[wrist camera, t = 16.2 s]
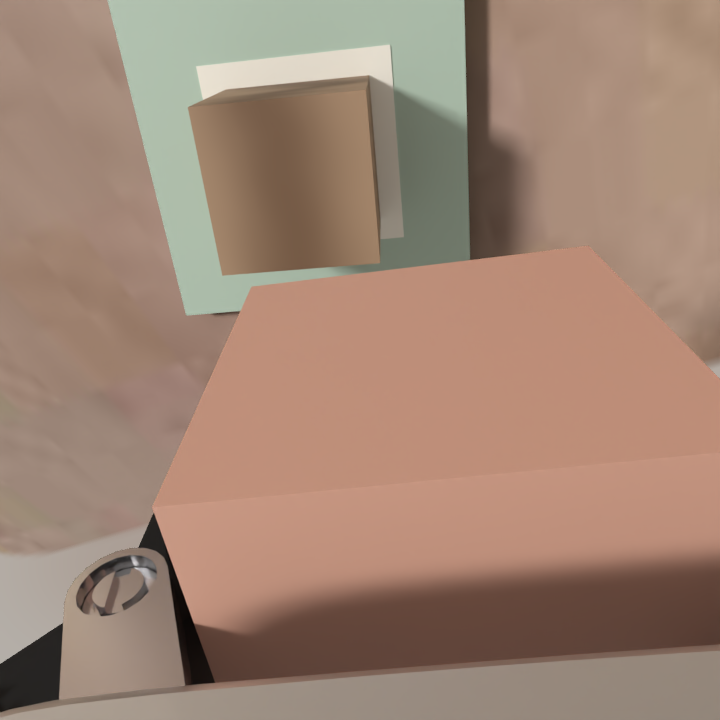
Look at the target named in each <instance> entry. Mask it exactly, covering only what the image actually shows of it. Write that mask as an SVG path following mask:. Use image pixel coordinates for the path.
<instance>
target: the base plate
mask: <svg viewBox="0 0 720 720" xmlns="http://www.w3.org/2000/svg"><path fill="white" fill-rule="evenodd" d="M108 4H109V8H110V12H111V16H112V20H113V24H114V28H115V32H116V36H117V40H118V44H119V48H120V52H121V56H122V60H123V64H124V68H125V72H126V76H127V80H128V84H129V88H130V92H131V96H132V100H133V104H134V108H135V112H136V116H137V120H138V124H139V128H140V132H141V136H142V140H143V144H144V148H145V152H146V156H147V160H148V164H149V168H150V172H151V176H152V180H153V184H154V188H155V192H156V196H157V200H158V204H159V208H160V212H161V216H162V220H163V224H164V228H165V232H166V236H167V240H168V244H169V248H170V252H171V256H172V260H173V264H174V268H175V272H176V276H177V280H178V284H179V288H180V292H181V296H182V300H183V304H184V308H185V312H186V315H198V314H210V313H222V312H234V311H241V309H242V306H243V304H244V302H245V300H246V298H247V295H248V293H249V291H250V289H251V287H253V286H261V285H269V284H277V283H285V282H294V281H302V280H310V279H318V278H327V277H335V276H343V275H351V274H360V273H368V272H376V271H384V270H393V269H401V268H409V267H417V266H425V265H434V264H442V263H450V262H458V261H467V260H470V231H469V187H468V143H467V100H466V56H465V12H464V0H108ZM366 75H369V80H370V92H371V105H372V117H373V130H374V142H375V155H376V168H377V180H378V193H379V205H380V218H381V229H380V263H377V264H364V265H351V266H339V267H326V268H313V269H301V270H288V271H275V272H263V273H250V274H237V275H225V276H222V272H221V267H220V262H219V257H218V253H217V248H216V243H215V238H214V233H213V228H212V223H211V218H210V214H209V209H208V204H207V199H206V194H205V189H204V184H203V179H202V175H201V170H200V165H199V160H198V155H197V150H196V145H195V140H194V136H193V131H192V126H191V121H190V116H189V111H188V107H189V106H191V105H194V104H196V103H198V102H200V101H202V100H204V99H206V98H209V97H211V96H213V95H215V94H217V93H219V92H221V91H224V90H226V89H235V88H245V87H255V86H265V85H275V84H285V83H295V82H305V81H315V80H325V79H335V78H345V77H355V76H366Z"/></svg>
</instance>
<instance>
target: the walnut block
mask: <svg viewBox="0 0 720 720" xmlns="http://www.w3.org/2000/svg"><path fill="white" fill-rule="evenodd" d="M188 111H189V116H190V121H191V126H192V131H193V136H194V140H195V145H196V150H197V155H198V160H199V165H200V170H201V175H202V179H203V184H204V189H205V194H206V199H207V204H208V209H209V214H210V218H211V223H212V228H213V233H214V238H215V243H216V248H217V253H218V257H219V262H220V267H221V272H222V276H225V275H237V274H250V273H263V272H275V271H288V270H301V269H313V268H326V267H339V266H351V265H364V264H377V263H380V229H381V218H380V205H379V193H378V180H377V168H376V155H375V142H374V130H373V117H372V105H371V92H370V80H369V75H366V76H355V77H345V78H335V79H325V80H315V81H305V82H295V83H285V84H275V85H265V86H255V87H245V88H235V89H226V90H224V91H221V92H219V93H217V94H215V95H213V96H211V97H209V98H206V99H204V100H202V101H200V102H198V103H196V104H194V105H191V106H189V107H188Z"/></svg>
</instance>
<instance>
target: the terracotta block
mask: <svg viewBox="0 0 720 720" xmlns="http://www.w3.org/2000/svg"><path fill="white" fill-rule="evenodd" d="M152 509H153V511H154V514H155V517H156V520H157V523H158V525H159V528H160V531H161V534H162V536H163V539H164V542H165V545H166V547H167V550H168V553H169V556H170V559H171V561H172V564H173V567H174V570H175V572H176V575H177V578H178V581H179V583H180V586H181V589H182V592H183V595H184V597H185V600H186V603H187V606H188V608H189V611H190V614H191V617H192V619H193V622H194V625H195V628H196V631H197V633H198V636H199V639H200V642H201V644H202V647H203V650H204V653H205V655H206V658H207V661H208V664H209V667H210V669H211V672H212V675H213V678H214V680H215V683H219V682H232V681H244V680H256V679H268V678H281V677H293V676H305V675H317V674H329V673H342V672H354V671H366V670H378V669H391V668H404V667H417V666H430V665H443V664H456V663H469V662H482V661H496V660H509V659H522V658H535V657H549V656H562V655H575V654H589V653H603V652H617V651H631V650H646V649H660V648H674V647H688V646H702V645H717V644H720V379H719V378H718V377H717V376H716V375H715V373H713V371H711V369H710V368H709V367H708V366H707V365H706V364H705V363H704V362H703V361H702V360H701V359H700V358H699V357H698V356H697V355H696V354H695V353H694V352H693V351H692V350H691V349H690V348H689V347H688V346H687V345H686V344H685V343H684V342H683V341H682V340H681V339H680V338H679V337H678V336H677V335H676V334H675V333H674V332H673V331H672V330H671V329H670V328H669V327H668V326H667V325H666V324H665V323H664V322H663V321H662V320H661V319H660V318H659V317H658V316H657V315H656V314H655V313H654V312H653V311H652V310H651V309H650V308H649V307H648V306H647V305H646V304H645V303H644V302H643V301H642V300H641V299H640V298H639V297H638V296H637V294H636V293H635V292H634V291H633V290H632V289H631V288H630V287H629V286H628V285H627V284H626V283H625V282H624V281H623V280H622V279H621V278H620V277H619V276H618V275H617V274H616V273H615V272H614V271H613V270H612V269H611V268H610V267H609V266H608V265H607V264H606V263H605V262H604V261H603V260H602V259H601V258H600V257H599V256H598V255H597V254H596V253H595V252H594V251H593V250H592V249H591V248H590V247H589V246H582V247H574V248H565V249H557V250H549V251H541V252H532V253H524V254H516V255H508V256H500V257H491V258H483V259H475V260H467V261H458V262H450V263H442V264H434V265H425V266H417V267H409V268H401V269H393V270H384V271H376V272H368V273H360V274H351V275H343V276H335V277H327V278H318V279H310V280H302V281H294V282H285V283H277V284H269V285H261V286H253V287H251V289H250V291H249V293H248V295H247V298H246V300H245V302H244V304H243V306H242V309H241V311H240V313H239V315H238V318H237V320H236V322H235V324H234V326H233V329H232V331H231V333H230V335H229V338H228V340H227V342H226V344H225V346H224V349H223V351H222V353H221V355H220V358H219V360H218V362H217V364H216V366H215V369H214V371H213V373H212V375H211V377H210V380H209V382H208V384H207V386H206V389H205V391H204V393H203V395H202V397H201V400H200V402H199V404H198V406H197V409H196V411H195V413H194V415H193V417H192V420H191V422H190V424H189V426H188V429H187V431H186V433H185V435H184V437H183V440H182V442H181V444H180V446H179V449H178V451H177V453H176V455H175V457H174V460H173V462H172V464H171V466H170V469H169V471H168V473H167V475H166V477H165V480H164V482H163V484H162V486H161V489H160V491H159V493H158V495H157V497H156V500H155V502H154V504H153V506H152Z"/></svg>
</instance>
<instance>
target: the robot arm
mask: <svg viewBox="0 0 720 720" xmlns="http://www.w3.org/2000/svg"><path fill="white" fill-rule="evenodd" d="M0 720H720V644H717V645H702V646H688V647H674V648H660V649H646V650H631V651H617V652H603V653H589V654H575V655H562V656H549V657H535V658H522V659H509V660H496V661H482V662H469V663H456V664H443V665H430V666H417V667H404V668H391V669H378V670H366V671H354V672H342V673H329V674H317V675H305V676H293V677H281V678H268V679H256V680H244V681H232V682H219V683H215V680H214V678H213V675H212V672H211V669H210V667H209V664H208V661H207V658H206V655H205V653H204V650H203V647H202V644H201V642H200V639H199V636H198V633H197V631H196V628H195V625H194V622H193V619H192V617H191V614H190V611H189V608H188V606H187V603H186V600H185V597H184V595H183V592H182V589H181V586H180V583H179V581H178V578H177V575H176V572H175V570H174V567H173V564H172V561H171V559H170V556H169V553H168V550H167V547H166V545H165V542H164V539H163V536H162V534H161V531H160V528H159V525H158V523H157V520H156V517H155V514H154V513H153V516H152V518H151V520H150V522H149V525H148V527H147V529H146V532H145V534H144V536H143V538H142V541H141V543H140V545H139V547H138V548H129V549H125V550H121V551H117V552H114V553H112V554H109V555H107V556H105V557H103V558H100V559H99V560H98V561H96V562H95V563H93V564H91V565H90V566H89V567H87V568H86V569H85V570H84V571H83V572H82V573H81V574H80V575H79V576H78V577H77V578H76V579H75V580H74V581H73V583H72V585H71V586H70V588H69V589H68V591H67V594H66V598H65V602H64V617H63V623H62V624H61V625H59V626H58V627H56V628H54V629H53V630H51V631H50V632H48V633H47V634H45V635H44V636H42V637H41V638H40V639H38V640H36V641H35V642H33V643H32V644H30V645H29V646H27V647H26V648H24V649H22V650H21V651H19V652H18V653H16V654H15V655H13V656H12V657H10V658H9V659H7V660H6V661H4V662H3V663H1V664H0Z"/></svg>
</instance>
